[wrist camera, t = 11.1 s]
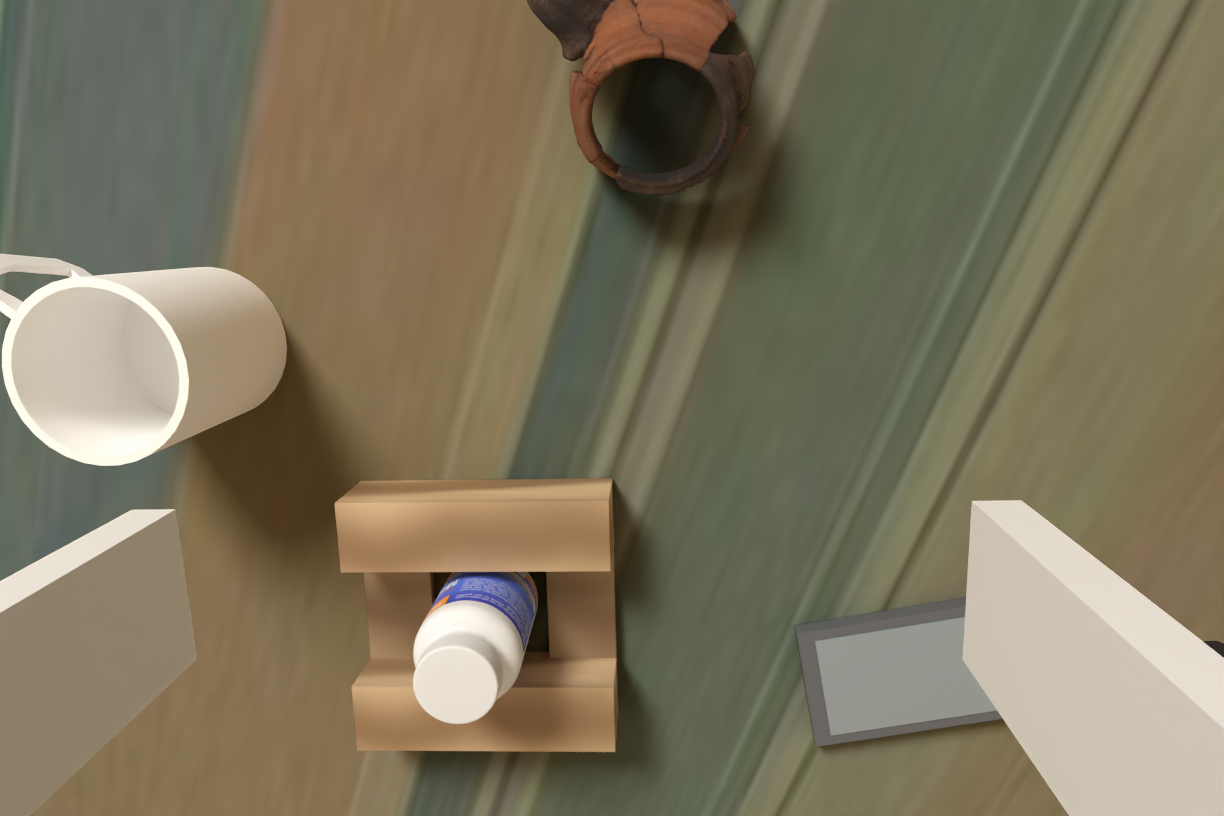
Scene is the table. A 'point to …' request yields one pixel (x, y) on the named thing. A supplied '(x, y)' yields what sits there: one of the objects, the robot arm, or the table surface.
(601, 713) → the socket holder
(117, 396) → the cup
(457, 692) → the pill bottle
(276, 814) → the table surface
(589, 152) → the pottery mug
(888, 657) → the phone slab
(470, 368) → the table surface
